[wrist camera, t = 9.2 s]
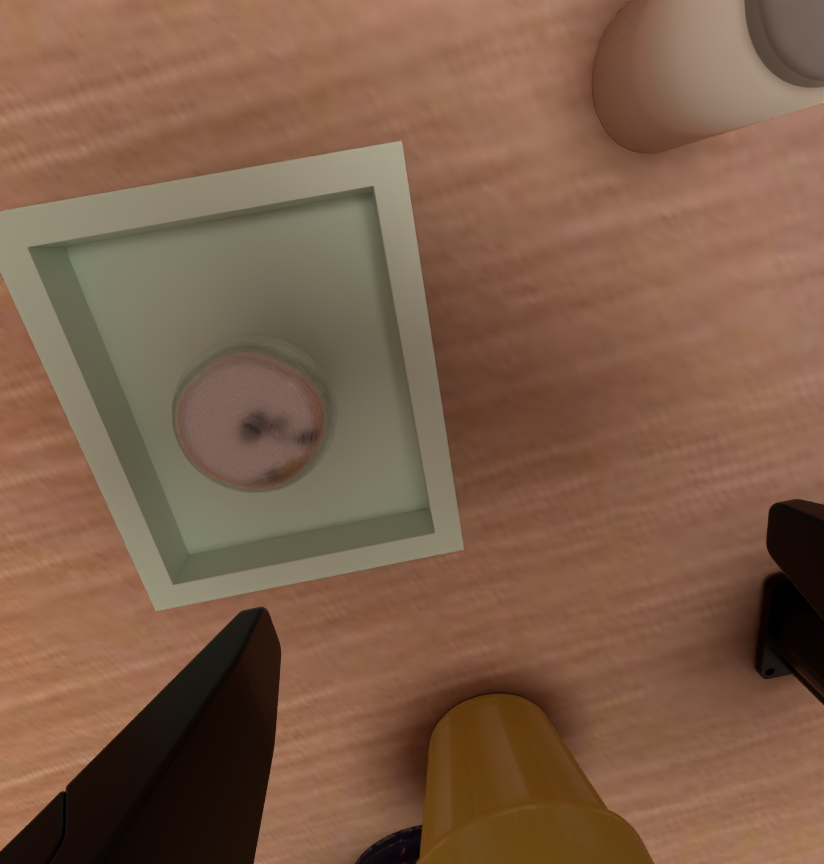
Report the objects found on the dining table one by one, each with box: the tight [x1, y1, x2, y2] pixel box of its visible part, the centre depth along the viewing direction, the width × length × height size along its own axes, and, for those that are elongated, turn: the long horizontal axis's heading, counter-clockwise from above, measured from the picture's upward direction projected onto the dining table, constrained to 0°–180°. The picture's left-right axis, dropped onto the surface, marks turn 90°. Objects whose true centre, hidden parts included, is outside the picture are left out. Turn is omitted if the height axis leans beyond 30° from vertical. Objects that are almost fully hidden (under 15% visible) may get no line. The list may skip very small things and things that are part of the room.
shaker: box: [592, 0, 824, 153], centre depth 13 cm, size 5×5×7 cm
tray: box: [0, 141, 464, 611], centre depth 17 cm, size 14×12×2 cm
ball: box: [172, 335, 337, 493], centre depth 16 cm, size 5×5×5 cm
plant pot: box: [416, 694, 654, 864], centre depth 22 cm, size 10×10×10 cm
